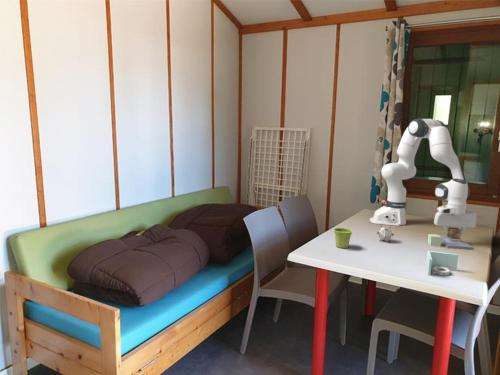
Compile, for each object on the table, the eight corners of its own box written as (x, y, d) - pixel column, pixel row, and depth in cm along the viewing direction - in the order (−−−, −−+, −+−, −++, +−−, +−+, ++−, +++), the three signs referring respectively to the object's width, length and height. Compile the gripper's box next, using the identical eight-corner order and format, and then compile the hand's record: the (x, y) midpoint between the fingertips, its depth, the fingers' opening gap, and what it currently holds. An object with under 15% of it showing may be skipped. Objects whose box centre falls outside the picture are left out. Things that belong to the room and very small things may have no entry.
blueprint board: (447, 248, 197) (447, 245, 197) (434, 237, 216) (434, 234, 216) (472, 249, 195) (472, 247, 195) (457, 238, 215) (457, 236, 215)
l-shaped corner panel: (427, 276, 159) (429, 259, 158) (425, 266, 170) (427, 250, 169) (460, 281, 155) (462, 263, 154) (456, 270, 166) (457, 254, 165)
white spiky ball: (386, 247, 209) (397, 232, 208) (387, 245, 201) (398, 230, 201) (372, 236, 212) (383, 222, 212) (372, 235, 204) (384, 220, 204)
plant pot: (339, 242, 202) (340, 226, 201) (355, 246, 195) (356, 230, 194) (329, 246, 195) (330, 229, 194) (345, 250, 189) (346, 233, 188)
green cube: (430, 245, 200) (431, 236, 200) (427, 243, 205) (428, 234, 204) (440, 246, 200) (441, 237, 199) (437, 243, 205) (438, 234, 204)
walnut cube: (450, 238, 203) (451, 229, 202) (446, 236, 208) (447, 227, 207) (460, 239, 202) (461, 230, 202) (456, 236, 207) (457, 227, 207)
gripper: (474, 209, 205) (471, 234, 207) (434, 207, 207) (431, 232, 210) (479, 211, 198) (476, 237, 201) (438, 209, 201) (435, 235, 203)
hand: (453, 234), depth 205 cm, fingers closed on walnut cube, 5 cm apart
